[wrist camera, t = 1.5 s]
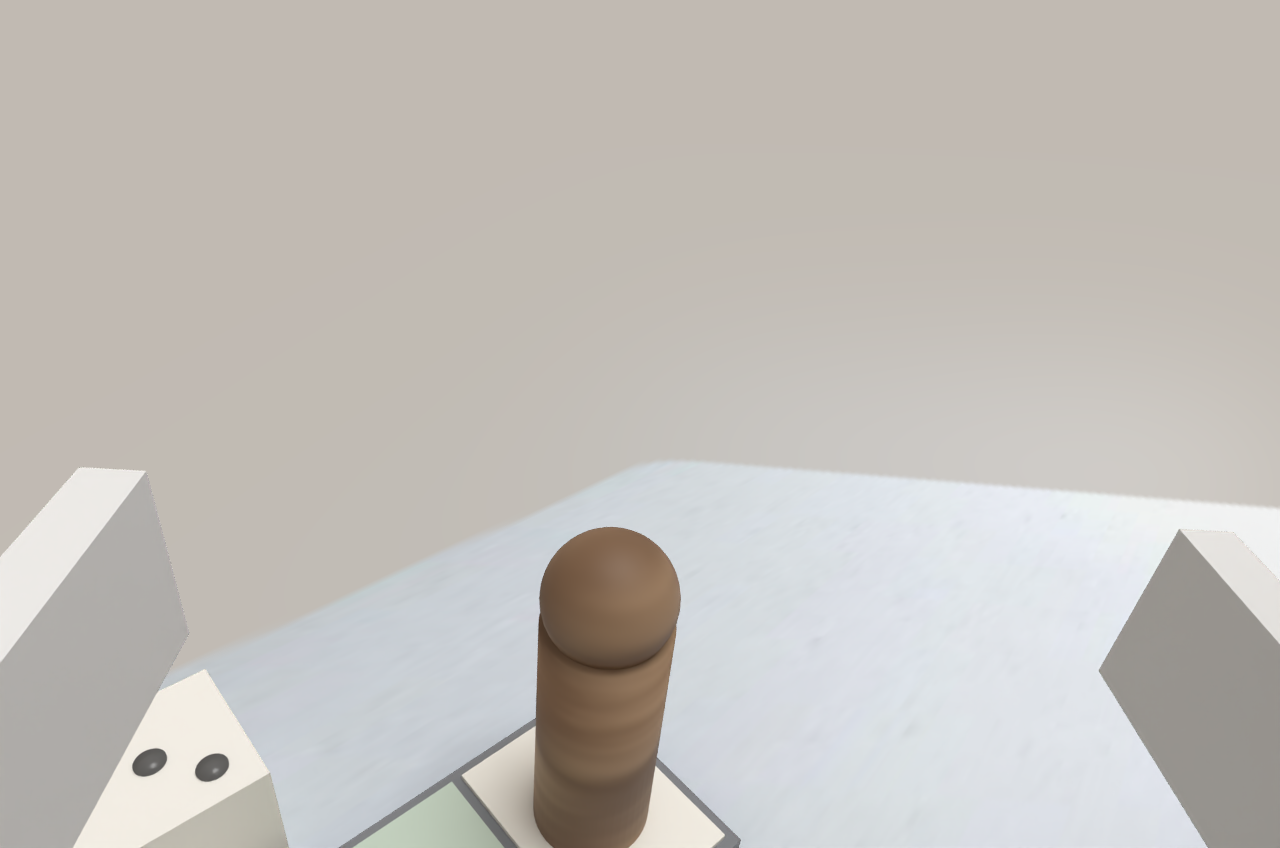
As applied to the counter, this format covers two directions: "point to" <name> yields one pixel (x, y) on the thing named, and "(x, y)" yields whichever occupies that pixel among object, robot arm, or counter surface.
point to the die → (187, 780)
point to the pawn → (601, 686)
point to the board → (528, 808)
